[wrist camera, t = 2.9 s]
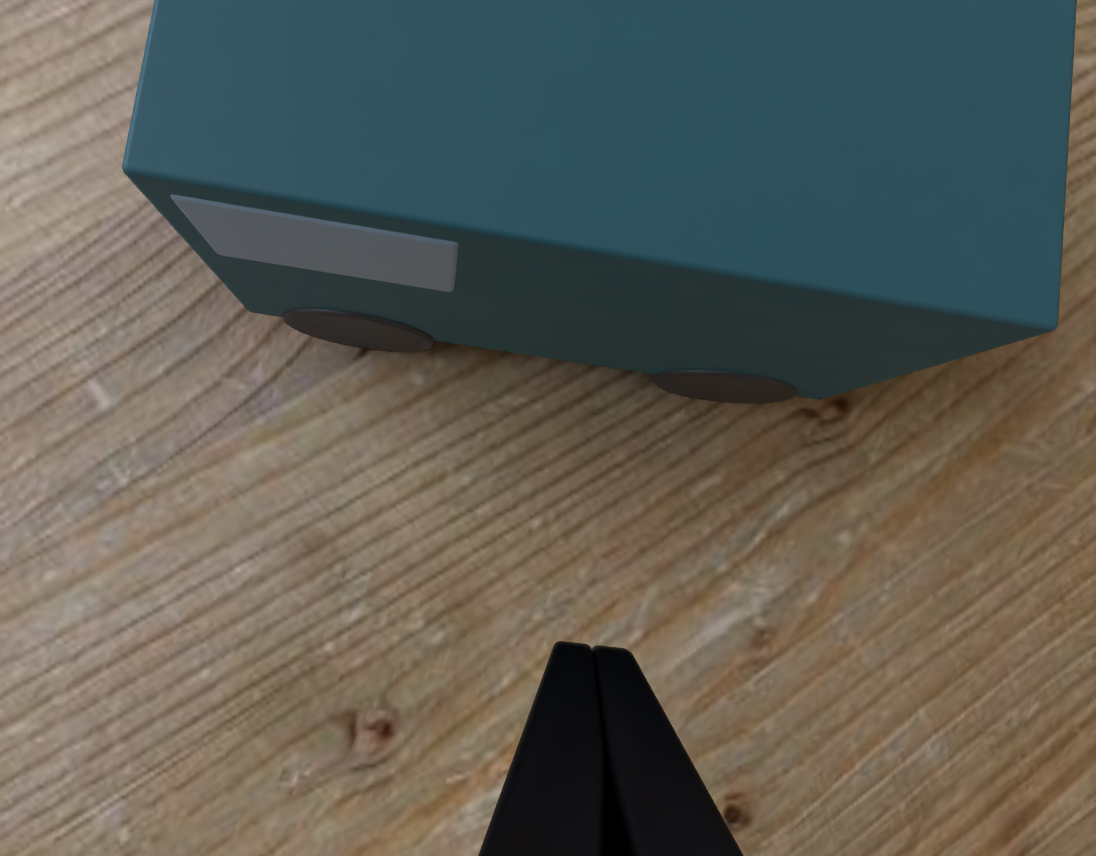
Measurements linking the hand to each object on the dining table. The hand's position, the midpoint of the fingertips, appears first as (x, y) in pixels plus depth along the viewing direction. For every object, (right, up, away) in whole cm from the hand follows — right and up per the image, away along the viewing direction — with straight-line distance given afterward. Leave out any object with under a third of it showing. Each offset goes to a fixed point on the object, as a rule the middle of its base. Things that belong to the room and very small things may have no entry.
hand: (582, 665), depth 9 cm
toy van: (0, +7, +10) cm, 12 cm away
